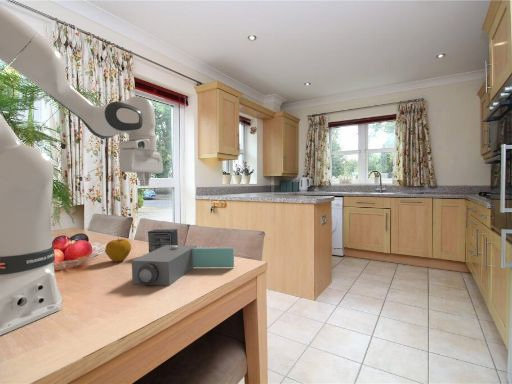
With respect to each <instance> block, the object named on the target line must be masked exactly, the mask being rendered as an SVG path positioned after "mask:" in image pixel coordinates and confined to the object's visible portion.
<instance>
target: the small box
mask: <svg viewBox="0 0 512 384" xmlns="http://www.w3.org/2000/svg"><path fill="white" fill-rule="evenodd" d="M147 236H148V238H147V239H148V253H150V252H152V251H154V250H156V249H158V248H161V247H163V246H165V245H179V241H178V239H179V238H178V237H179V236H178V229H177V228H171V229H170V228H168V229H167V228H166V229H165V228H164V229H163V228H162V229H161V228H160V229H151V230H149V231H147Z"/></svg>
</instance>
